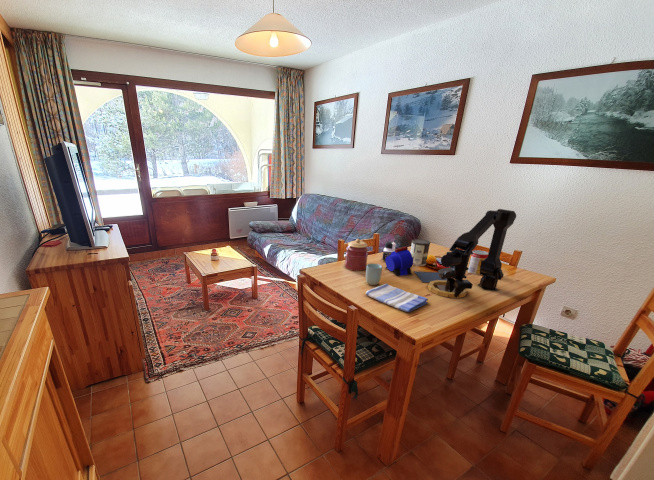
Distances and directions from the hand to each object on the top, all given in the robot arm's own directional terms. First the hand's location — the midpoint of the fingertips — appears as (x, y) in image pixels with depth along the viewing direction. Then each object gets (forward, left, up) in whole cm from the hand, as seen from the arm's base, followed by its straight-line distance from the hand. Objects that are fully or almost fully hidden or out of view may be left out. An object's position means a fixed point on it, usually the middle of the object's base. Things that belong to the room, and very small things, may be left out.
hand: (452, 294), depth 148 cm
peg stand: (0, -8, -1) cm, 8 cm away
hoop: (0, -8, -1) cm, 8 cm away
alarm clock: (+19, -32, -1) cm, 37 cm away
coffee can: (+3, -49, -1) cm, 49 cm away
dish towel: (+28, +6, -1) cm, 29 cm away
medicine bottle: (+20, -52, -1) cm, 55 cm away
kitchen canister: (+42, -36, -1) cm, 56 cm away
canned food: (-26, -37, -1) cm, 45 cm away
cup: (+36, -12, -1) cm, 38 cm away
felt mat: (0, -25, -1) cm, 25 cm away
